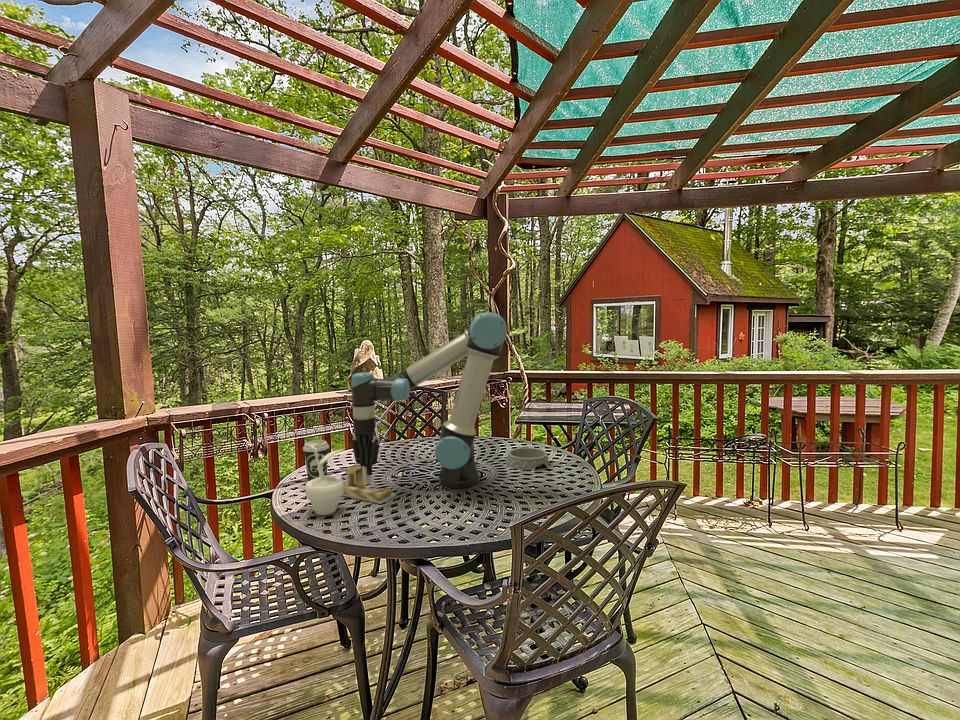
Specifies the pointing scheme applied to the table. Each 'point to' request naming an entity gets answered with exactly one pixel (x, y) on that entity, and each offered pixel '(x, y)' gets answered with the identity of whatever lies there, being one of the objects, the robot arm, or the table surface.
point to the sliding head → (355, 477)
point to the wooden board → (372, 500)
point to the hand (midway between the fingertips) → (367, 483)
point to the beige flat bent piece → (366, 493)
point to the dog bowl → (527, 458)
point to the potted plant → (324, 487)
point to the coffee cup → (311, 459)
